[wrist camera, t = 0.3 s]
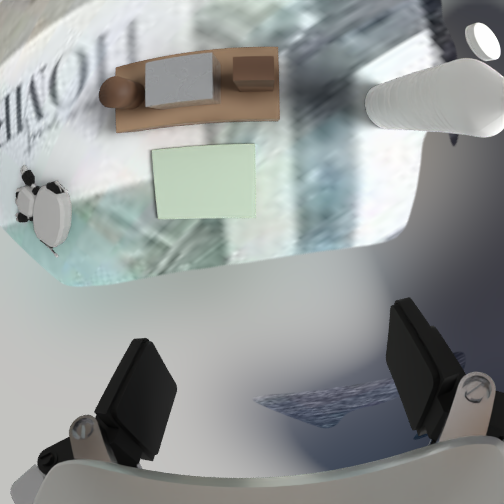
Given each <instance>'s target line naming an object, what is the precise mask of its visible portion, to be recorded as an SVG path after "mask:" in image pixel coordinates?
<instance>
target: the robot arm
mask: <svg viewBox="0 0 504 504" xmlns="http://www.w3.org/2000/svg"><path fill="white" fill-rule="evenodd" d="M386 362H387V365H388V367H389V370H390V372H391V375H392V377H393V380H394V382H395V385H396V387H397V390H398V393H399V395H400V398H401V401H402V403H403V406H404V409H405V411H406V414H407V417H408V420H409V423H410V426H411V428H412V430H417V433H418V436H420V435H423V434H425V433H427V434H428V436H429V438H430V439H431V440H430V443H429V445H428V446H426V447H422V448H419V449H416V450H412V451H409V452H406V453H403V454H400V455H396V456H393V457H389V458H386V459H382V460H378V461H374V462H370V463H366V464H362V465H357V466H352V467H347V468H343V469H338V470H332V471H325V472H319V473H311V474H303V475H294V476H282V477H267V478H216V477H200V476H187V475H178V474H170V473H163V472H157V471H150V470H145V469H142V467H141V465H140V463H139V461H140V458H141V459H144V460H149V461H153V459H154V456H155V455H157V454H158V452H159V449H160V445H161V442H162V438H163V435H164V432H165V428H166V425H167V422H168V418H169V415H170V412H171V408H172V405H173V402H174V398H175V395H176V392H177V385H176V383H175V381H174V380H173V378H172V376H171V375H170V373H169V371H168V370H167V368H166V366H165V364H164V363H163V360H162V359H161V357H160V355H159V353H158V352H157V350H156V348H155V346H154V344H153V343H152V342H151V341H149V340H148V339H147V338H141V339H133V341H132V342H131V344H130V346H129V348H128V349H127V351H126V353H125V354H124V356H123V358H122V360H121V362H120V364H119V366H118V367H117V369H116V371H115V373H114V375H113V377H112V378H111V380H110V382H109V384H108V386H107V388H106V390H105V392H104V394H103V396H102V397H101V399H100V401H99V403H98V405H97V407H96V409H95V411H94V412H95V413H96V418H94V417H93V416H91V415H83V416H80V417H78V418H77V419H76V420H75V421H74V422H73V423H72V425H71V426H70V430H69V436H70V437H68V438H66V439H64V440H62V441H60V442H58V443H56V444H54V445H52V446H50V447H48V448H46V449H45V450H43V451H42V452H41V453H40V455H39V457H38V466H37V465H34V466H32V467H31V468H30V469H29V470H28V471H27V472H26V473H24V475H22V476H21V477H20V478H19V479H18V480H17V481H15V482H14V483H13V485H12V487H11V496H12V499H13V501H14V503H15V504H504V393H502V392H499V391H495V384H494V382H493V380H492V379H491V377H489V376H487V375H486V374H484V373H481V372H473V373H469V374H467V375H466V374H465V372H464V370H463V369H462V367H461V366H460V364H459V362H458V361H457V359H456V357H455V356H454V354H453V353H452V351H451V350H450V348H449V347H448V345H447V344H446V342H445V340H444V339H443V338H442V336H441V334H440V333H439V332H438V330H437V329H436V328H435V327H434V326H430V325H429V323H428V322H427V321H426V319H425V318H424V316H423V315H422V313H421V312H420V310H419V309H418V308H417V306H416V305H415V303H414V302H413V301H412V299H411V298H404V299H400V300H396V301H395V303H394V305H392V306H391V308H390V322H389V333H388V342H387V351H386Z"/></svg>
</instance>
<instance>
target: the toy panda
mask: <svg viewBox="0 0 504 504" xmlns="http://www.w3.org/2000/svg"><path fill="white" fill-rule="evenodd" d="M21 174H22V179H23V181H24V183H25V184H26V185H28V186H24V187H20V188H17V190H16V199H15V202H16V205H17V206H18V210H19V211H20V213H19V212H18V213H16V217H17V218H16V220H17V221H18V222H27V221H28V220H30V221H33V224H34V230H35V233H36V235H37V238H39V239H40V241H41V242H43V243H44V244H45V245H46V246H47V247H49V249H50V250H51V251H52V252H53V253H54V254H55V256H56V257H58V255H57V254H56V253H55V252H54V250H53V249H52V248H53V247H57V246H58V245H60V244H62V243H63V242H64V241H65V240H66V238H67V236H68V233H69V229H70V226H71V215H72V206H71V200H70V196H69V194H68V190H66V189H65V188H64V187H63V186H62V185H61V184H59V182H58V181H55V182H51V183H47V185H45V186H42V187H41V188H39V186H36V185H35V177H34V175H33V173H32V172H31V170H28V169H27V166H26V165H23V166H22V168H21Z"/></svg>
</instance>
